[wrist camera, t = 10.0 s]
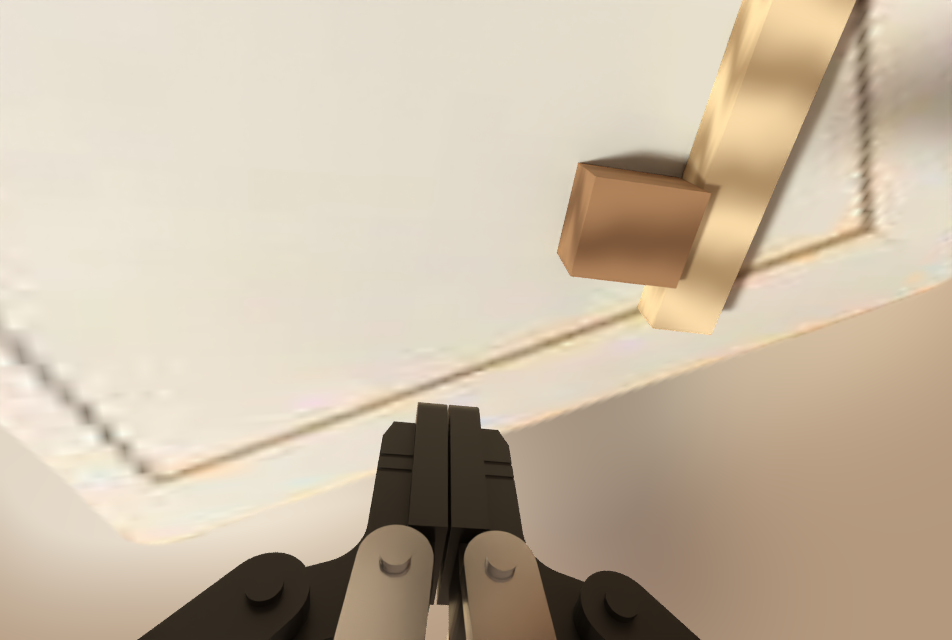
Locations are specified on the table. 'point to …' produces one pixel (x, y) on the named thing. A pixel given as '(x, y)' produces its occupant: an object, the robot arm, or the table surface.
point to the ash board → (746, 146)
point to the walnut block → (630, 226)
